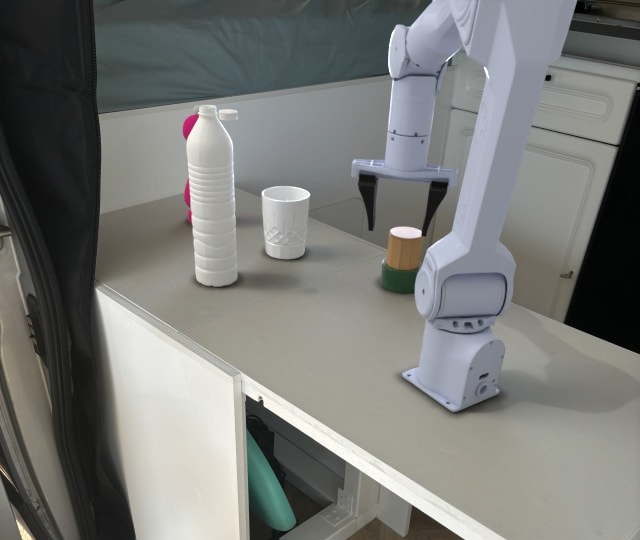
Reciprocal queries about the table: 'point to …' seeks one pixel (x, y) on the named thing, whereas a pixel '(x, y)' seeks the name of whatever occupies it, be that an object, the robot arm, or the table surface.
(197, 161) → the water bottle
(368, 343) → the table surface
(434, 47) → the robot arm
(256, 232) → the table surface
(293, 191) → the white cup
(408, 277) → the green stepped peg base
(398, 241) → the wooden drum
